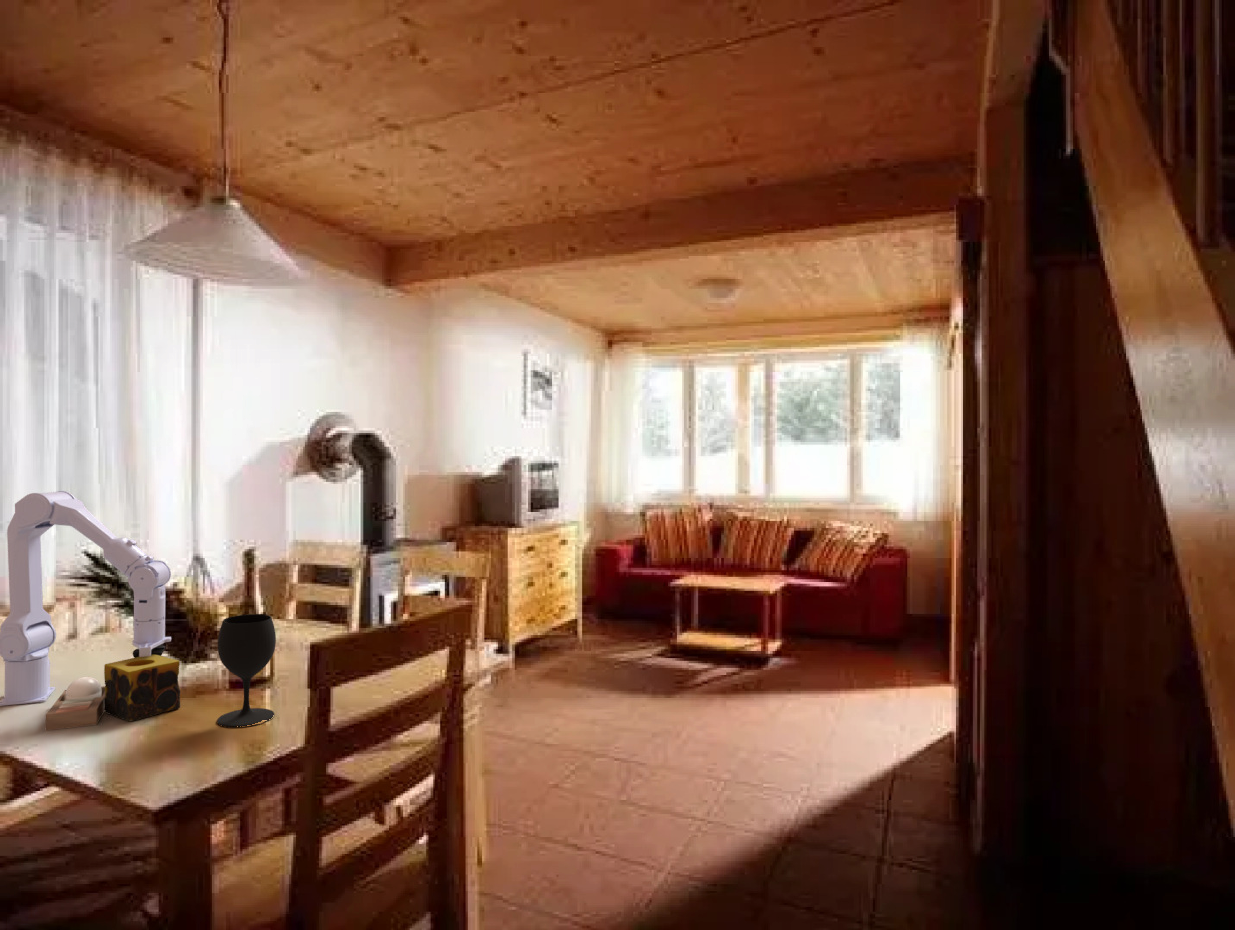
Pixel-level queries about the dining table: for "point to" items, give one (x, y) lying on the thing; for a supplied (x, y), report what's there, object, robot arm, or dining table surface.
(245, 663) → the wine glass
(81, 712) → the brown shallow box
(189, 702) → the dining table surface
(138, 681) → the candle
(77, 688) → the dome button
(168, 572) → the robot arm
